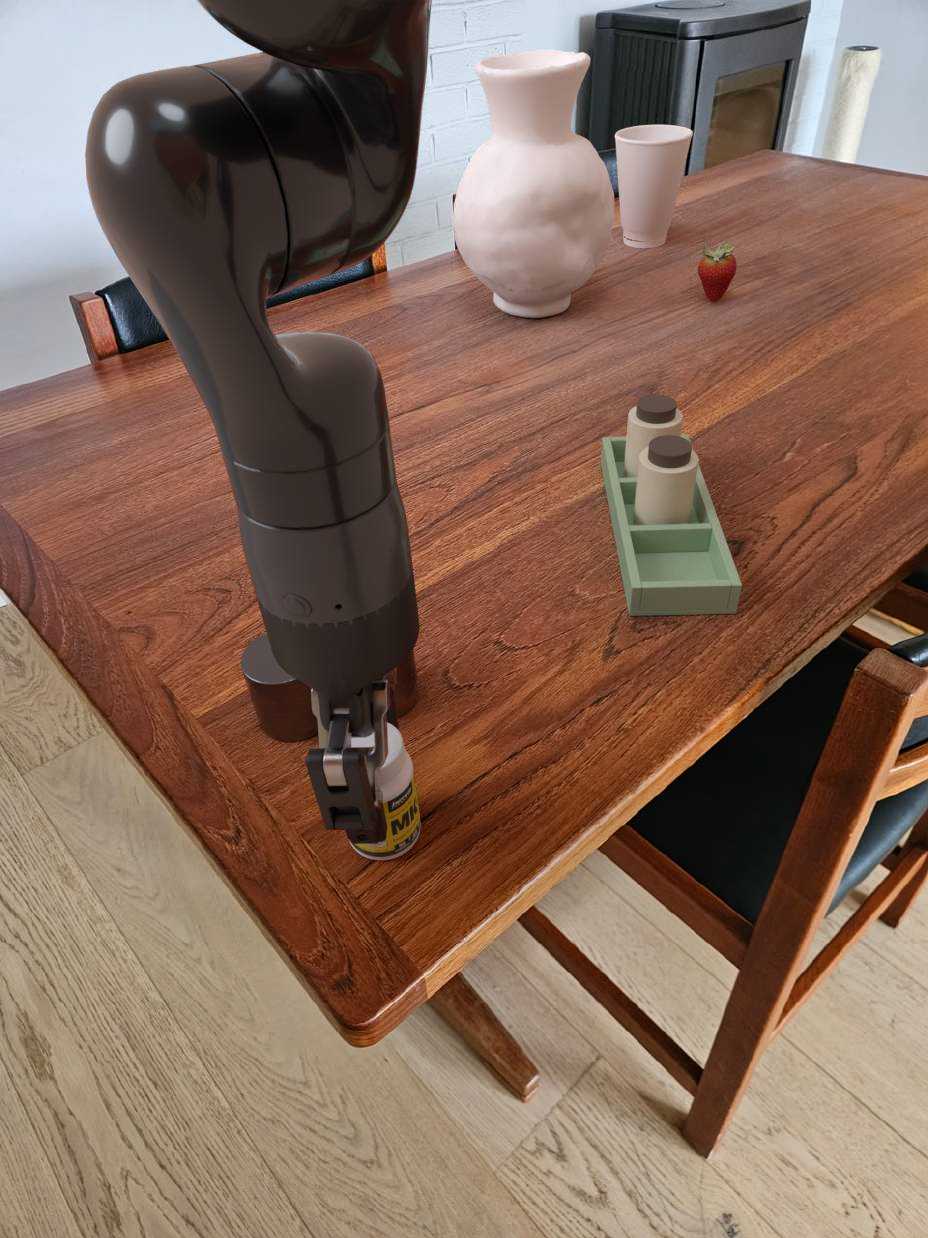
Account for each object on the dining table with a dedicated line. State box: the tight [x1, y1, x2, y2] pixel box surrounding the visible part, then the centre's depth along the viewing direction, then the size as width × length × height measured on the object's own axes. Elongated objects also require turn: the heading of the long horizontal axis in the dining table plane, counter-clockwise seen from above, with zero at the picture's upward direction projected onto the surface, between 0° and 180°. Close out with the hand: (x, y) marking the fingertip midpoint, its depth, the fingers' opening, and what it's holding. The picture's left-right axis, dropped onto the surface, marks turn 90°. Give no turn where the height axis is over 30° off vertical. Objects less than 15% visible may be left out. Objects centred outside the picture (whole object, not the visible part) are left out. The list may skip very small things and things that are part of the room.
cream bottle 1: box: [623, 393, 684, 478], centre depth 79 cm, size 5×5×8 cm
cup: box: [614, 124, 694, 249], centre depth 132 cm, size 12×12×16 cm
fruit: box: [697, 240, 738, 303], centre depth 114 cm, size 5×5×8 cm
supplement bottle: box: [348, 723, 422, 861], centre depth 50 cm, size 5×5×8 cm
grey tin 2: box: [394, 648, 420, 719], centre depth 60 cm, size 6×6×6 cm
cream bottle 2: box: [633, 435, 700, 525], centre depth 73 cm, size 5×5×8 cm
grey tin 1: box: [239, 632, 318, 743], centre depth 59 cm, size 6×6×6 cm
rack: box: [599, 433, 743, 617], centre depth 75 cm, size 9×24×3 cm, turn 178°
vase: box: [452, 48, 615, 319], centre depth 109 cm, size 19×21×30 cm
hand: (375, 782), depth 50 cm, fingers open, 7 cm apart
